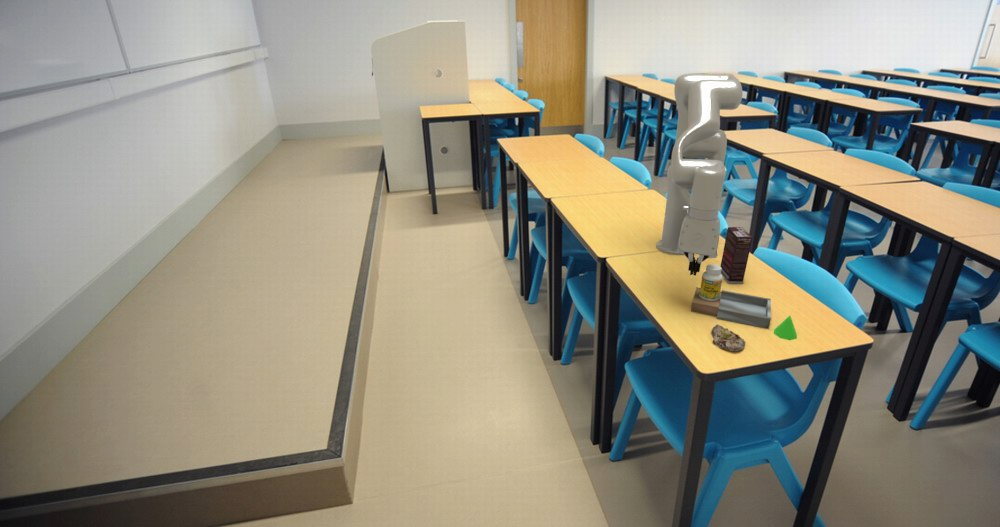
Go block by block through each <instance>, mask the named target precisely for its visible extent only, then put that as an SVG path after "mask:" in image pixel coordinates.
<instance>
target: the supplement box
mask: <svg viewBox="0 0 1000 527" xmlns="http://www.w3.org/2000/svg"><path fill="white" fill-rule="evenodd" d="M752 241H753V236H752V234H751V235H750V233H749V232H748V231H747V230H746V229H745V228H743V227H740V226H735V227H734V226H733V227H732V226H730V227H727V230H726V235H725V240H724V244H723V250H722V256H721V262H720V265H719V266H720V267H721V268H722V269H721V274H722V276H723V278H724V280H725V281H726V282H727V284H729V285H730V284H733V285H735V284H736V285H738V284H739V285H743V284H744V281H745V280H744V278H745V276H746V275H745V274H746V271H747V270H746V269H747V265H748V261H749V257H750V252H751V247H752Z"/></svg>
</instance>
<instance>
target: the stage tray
mask: <svg viewBox="0 0 1000 527" xmlns="http://www.w3.org/2000/svg"><path fill="white" fill-rule="evenodd" d="M699 293H700V287H697V286H696V287H695V291H694V295H693V298H692V302H691V303H692V304H691V307H690V308H691V309H690V312H691V313H696V314H701V315H706V316H712V317H715V318H716V319H717V320H723V321H727V322H733V323H737V324H742V325H747V326H752V327H758V328H762V329H763V328H764V329H770V325H771V320H772V299H771V298H768V297H762V296H758V295H752V294H751V295H750V294H746V293H740V292H734V291H729V290H723V289H722V290H720V296H719V299H718V300H716V301H707V300H704V299H702V298H701V297H700V295H699Z"/></svg>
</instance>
